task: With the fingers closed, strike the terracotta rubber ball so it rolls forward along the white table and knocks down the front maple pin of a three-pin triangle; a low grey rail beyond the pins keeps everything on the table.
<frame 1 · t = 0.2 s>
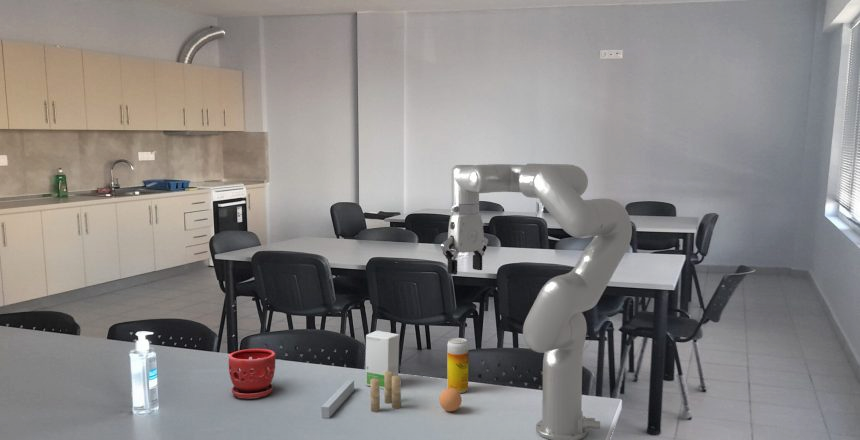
hand: (465, 271, 192), 36 cm above the table, tool pointing down, fingers open, 9 cm apart
yellow canister: (457, 391, 203), on the table
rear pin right: (389, 401, 194), on the table
front pin: (396, 407, 190), on the table
plant pot: (253, 394, 202), on the table
ball: (450, 399, 187), on the table
skincare box: (382, 385, 209), on the table
rear pin left: (375, 410, 188), on the table
back rail: (338, 403, 193), on the table
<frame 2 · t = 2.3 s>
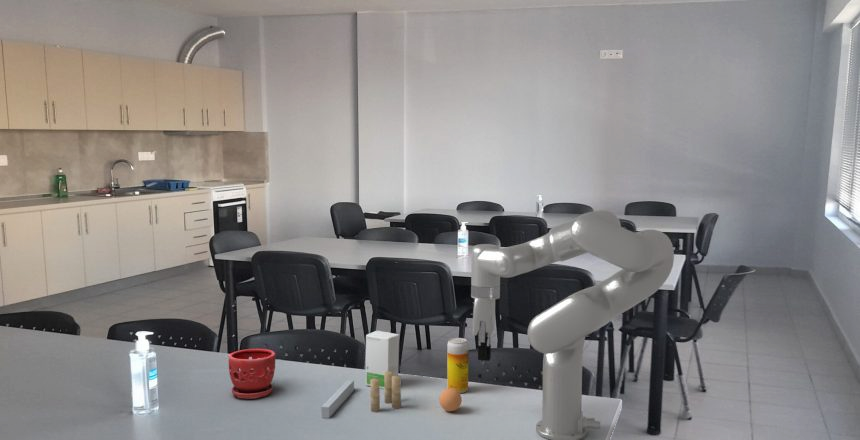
hand: (484, 359, 184), 15 cm above the table, tool pointing down, fingers closed
nothing on the table moved.
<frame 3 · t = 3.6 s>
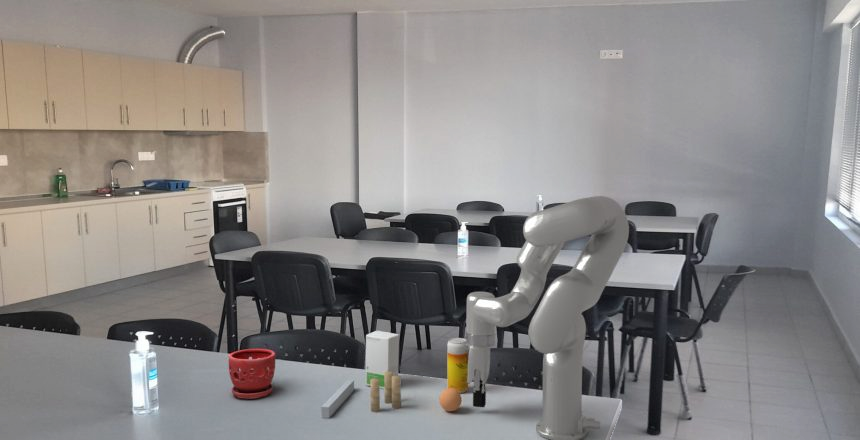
hand: (479, 405, 186), 2 cm above the table, tool pointing down, fingers closed
nothing on the table moved.
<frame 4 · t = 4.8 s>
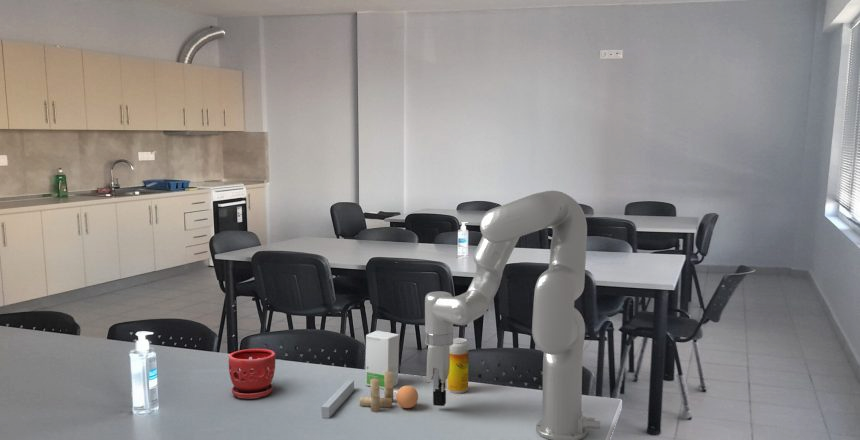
hand: (439, 404, 188), 2 cm above the table, tool pointing down, fingers closed
front pin: (391, 402, 190), point 1 cm above the table, tilted 90°
ball: (407, 396, 189), on the table
everything else where it was.
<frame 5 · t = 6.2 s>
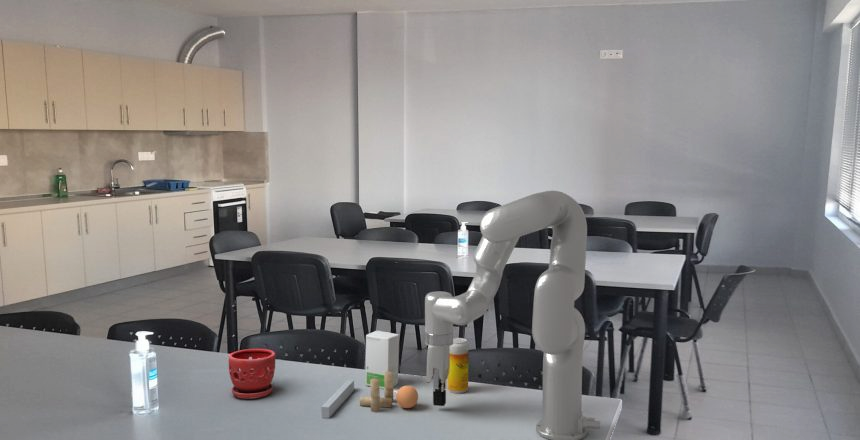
hand: (439, 404, 188), 2 cm above the table, tool pointing down, fingers closed
nothing on the table moved.
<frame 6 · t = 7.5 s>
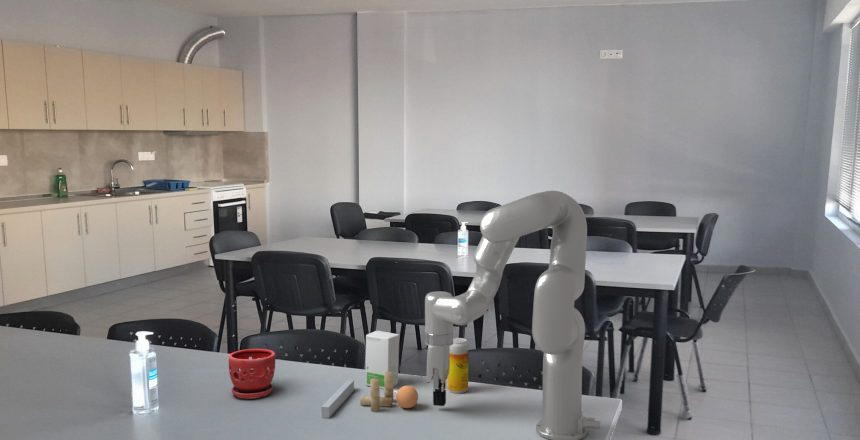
hand: (439, 404, 188), 2 cm above the table, tool pointing down, fingers closed
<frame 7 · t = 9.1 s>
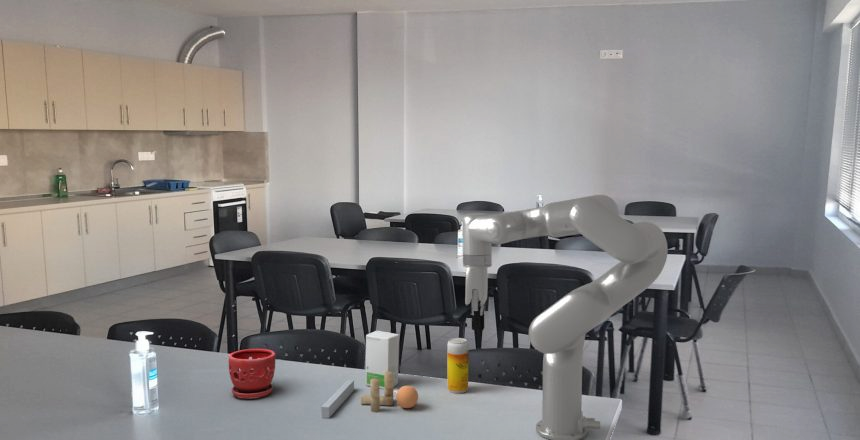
hand: (478, 329, 184), 23 cm above the table, tool pointing down, fingers closed
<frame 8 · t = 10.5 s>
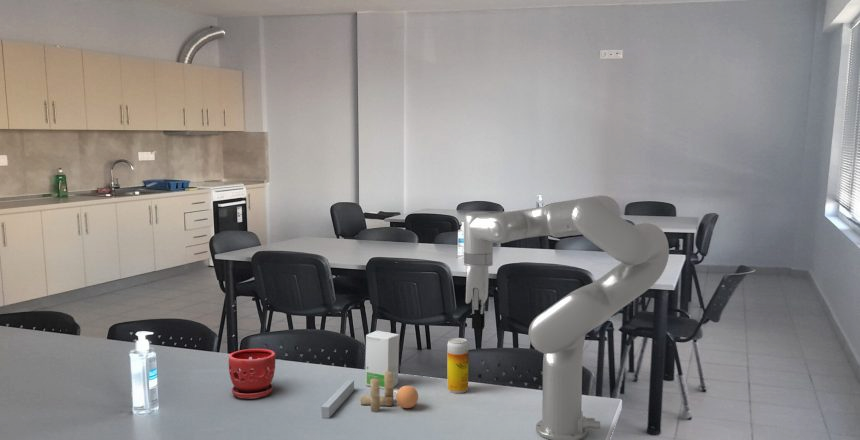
hand: (478, 327, 184), 23 cm above the table, tool pointing down, fingers closed
nothing on the table moved.
at the end: front pin tilted 90°; front pin never touched the robot; ball moved 12.0 cm from its start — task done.
